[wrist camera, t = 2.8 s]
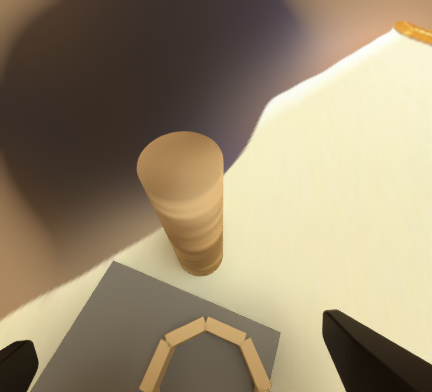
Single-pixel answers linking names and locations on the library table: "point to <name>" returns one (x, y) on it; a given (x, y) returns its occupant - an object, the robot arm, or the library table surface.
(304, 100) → the library table surface
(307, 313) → the library table surface
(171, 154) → the pin
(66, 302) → the library table surface
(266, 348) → the board
